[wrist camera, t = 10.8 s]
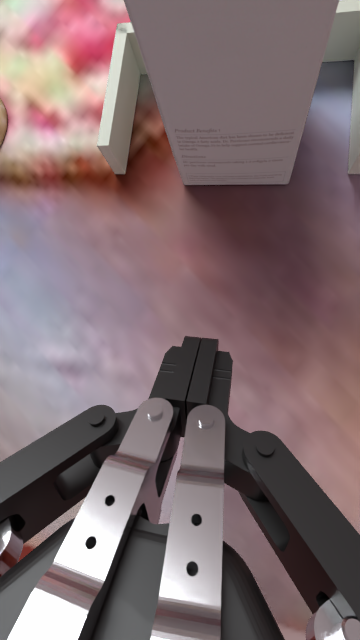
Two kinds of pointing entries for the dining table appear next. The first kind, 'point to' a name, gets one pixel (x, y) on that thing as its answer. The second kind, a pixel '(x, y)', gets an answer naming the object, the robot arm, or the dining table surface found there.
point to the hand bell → (2, 121)
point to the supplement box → (233, 81)
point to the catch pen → (127, 65)
